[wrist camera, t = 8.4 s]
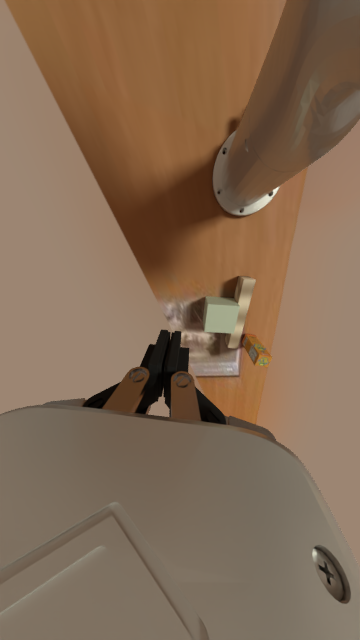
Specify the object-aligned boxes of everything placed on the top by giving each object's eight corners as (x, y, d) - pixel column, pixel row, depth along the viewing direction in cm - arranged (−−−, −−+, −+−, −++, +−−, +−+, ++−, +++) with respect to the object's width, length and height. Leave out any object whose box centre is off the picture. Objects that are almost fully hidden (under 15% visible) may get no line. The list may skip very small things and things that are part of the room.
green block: (205, 296, 39) (207, 304, 33) (233, 297, 38) (240, 306, 33) (202, 320, 42) (204, 331, 36) (228, 322, 42) (233, 333, 36)
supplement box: (256, 334, 42) (274, 357, 33) (251, 344, 44) (267, 369, 35) (244, 332, 42) (259, 355, 33) (240, 342, 44) (253, 366, 35)
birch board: (238, 275, 36) (243, 279, 32) (249, 276, 36) (255, 279, 32) (224, 339, 44) (227, 347, 40) (233, 340, 44) (237, 348, 40)
